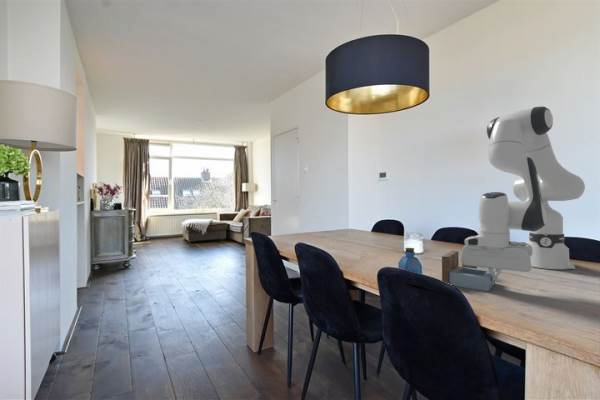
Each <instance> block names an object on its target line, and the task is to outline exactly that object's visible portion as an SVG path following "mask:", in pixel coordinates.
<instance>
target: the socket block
mask: <svg viewBox="0 0 600 400" xmlns="http://www.w3.org/2000/svg"><path fill="white" fill-rule="evenodd" d="M493 273H494V274H495V275H496V270H494V271H493ZM449 284H452V285H454V286H453V287H458V288H466V289H470V288H471V289H472V290H477V291H478V290H479V291H483V292H484V291H485V292H489V291H490V290H491V288H492V287H494V285H495V284H496V282H493V281H492V276H491V274H490V273H489V271H488V269H484V268H477V269H476V268H468V267H462V266H458V267H456V268H455V269H454V270H452V271H451V272H449Z"/></svg>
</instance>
